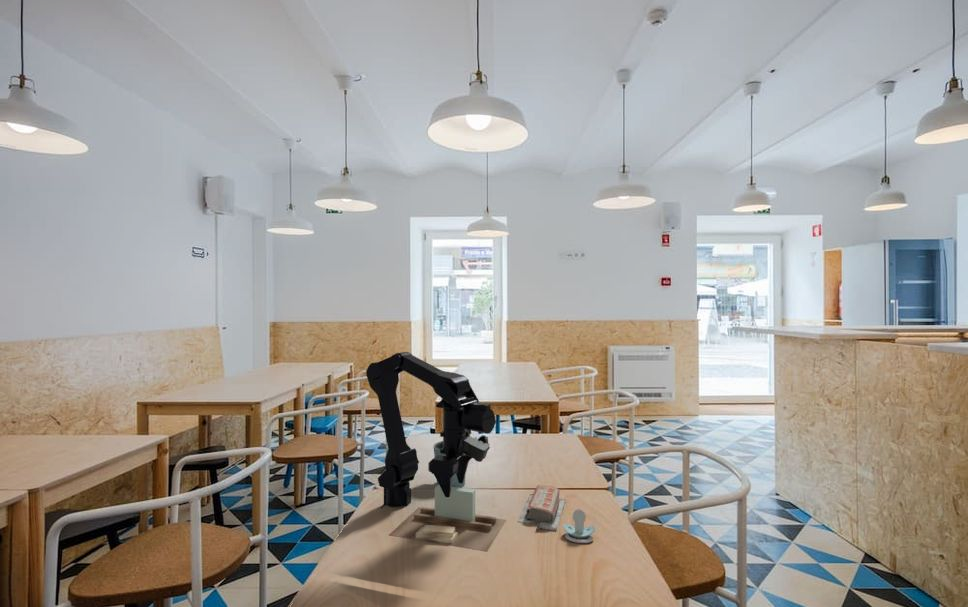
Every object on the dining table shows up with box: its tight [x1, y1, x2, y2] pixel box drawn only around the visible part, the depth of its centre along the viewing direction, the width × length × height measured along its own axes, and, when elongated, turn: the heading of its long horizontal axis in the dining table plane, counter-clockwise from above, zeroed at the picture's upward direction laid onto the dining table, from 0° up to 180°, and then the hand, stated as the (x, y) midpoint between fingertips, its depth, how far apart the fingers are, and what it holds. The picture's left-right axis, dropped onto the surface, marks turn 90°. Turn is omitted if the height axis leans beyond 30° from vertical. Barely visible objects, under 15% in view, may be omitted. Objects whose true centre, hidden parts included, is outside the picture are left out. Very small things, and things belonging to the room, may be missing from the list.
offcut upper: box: [422, 525, 455, 537], centre depth 112 cm, size 7×3×1 cm, turn 82°
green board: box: [434, 484, 476, 522], centre depth 121 cm, size 10×2×8 cm, turn 72°
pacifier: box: [563, 508, 596, 544], centre depth 114 cm, size 7×6×6 cm
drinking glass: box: [432, 440, 466, 488], centre depth 147 cm, size 10×10×12 cm
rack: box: [388, 506, 507, 552], centre depth 117 cm, size 24×16×2 cm, turn 72°
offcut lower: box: [416, 527, 458, 544], centre depth 112 cm, size 9×4×1 cm, turn 72°
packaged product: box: [516, 484, 566, 531], centre depth 128 cm, size 18×5×10 cm
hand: (454, 489), depth 121 cm, fingers open, 9 cm apart
